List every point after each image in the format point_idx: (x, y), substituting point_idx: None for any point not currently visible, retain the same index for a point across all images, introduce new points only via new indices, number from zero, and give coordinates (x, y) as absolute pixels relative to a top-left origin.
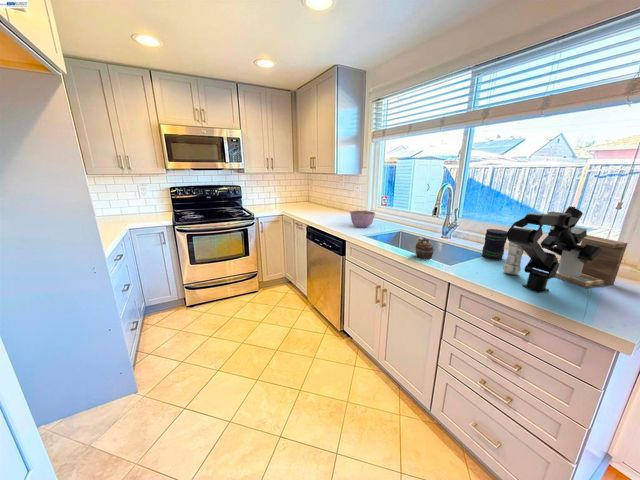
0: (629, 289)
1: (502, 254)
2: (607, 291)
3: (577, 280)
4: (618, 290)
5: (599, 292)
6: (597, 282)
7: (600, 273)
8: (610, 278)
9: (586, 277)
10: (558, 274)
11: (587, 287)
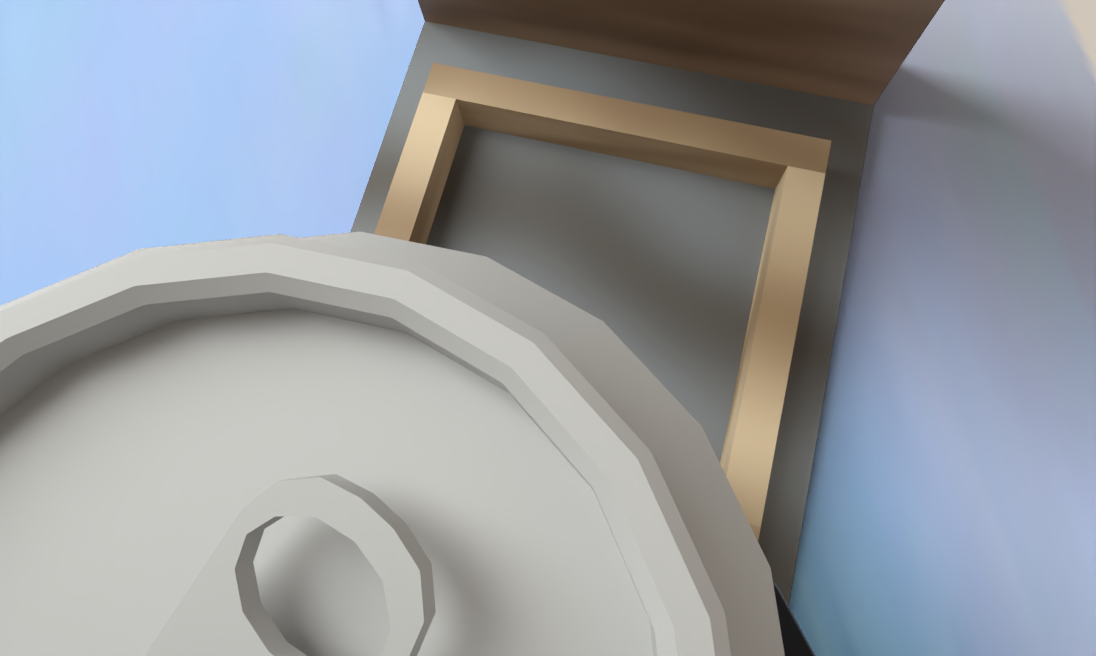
0: (1044, 70)
1: None
2: (967, 443)
3: None
4: (1008, 246)
5: (940, 616)
6: (801, 281)
7: (752, 3)
8: (884, 51)
9: (622, 147)
10: None
11: (787, 596)
